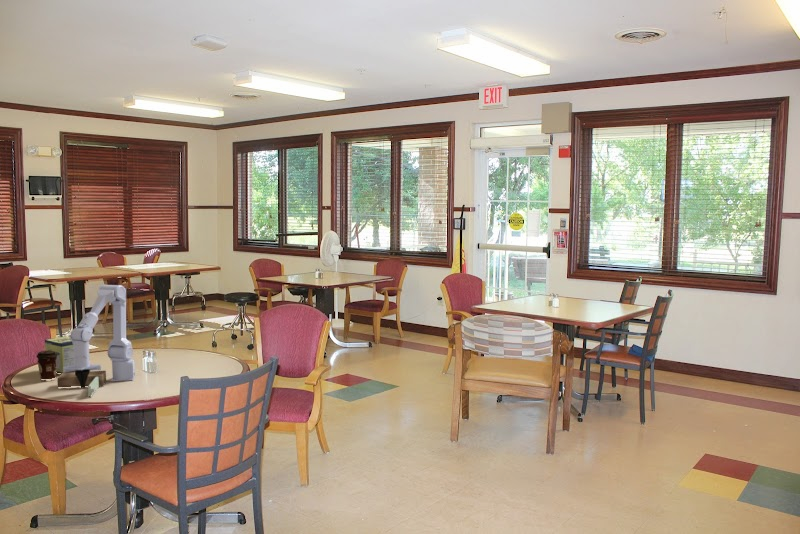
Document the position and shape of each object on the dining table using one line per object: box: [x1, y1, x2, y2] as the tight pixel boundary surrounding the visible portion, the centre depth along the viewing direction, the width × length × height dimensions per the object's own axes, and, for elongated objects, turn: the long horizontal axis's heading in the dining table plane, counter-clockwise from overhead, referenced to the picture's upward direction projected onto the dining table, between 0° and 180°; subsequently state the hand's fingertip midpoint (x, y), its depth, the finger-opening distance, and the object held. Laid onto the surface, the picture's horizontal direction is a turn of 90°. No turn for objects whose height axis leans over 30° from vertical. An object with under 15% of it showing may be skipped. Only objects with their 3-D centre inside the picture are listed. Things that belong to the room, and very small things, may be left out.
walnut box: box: [56, 370, 107, 388], centre depth 297 cm, size 18×9×5 cm, turn 105°
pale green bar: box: [87, 376, 100, 397], centre depth 286 cm, size 16×2×4 cm, turn 14°
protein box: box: [44, 335, 75, 374], centre depth 321 cm, size 10×16×16 cm
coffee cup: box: [36, 350, 58, 380], centre depth 306 cm, size 9×8×13 cm
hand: (83, 387), depth 285 cm, fingers closed
